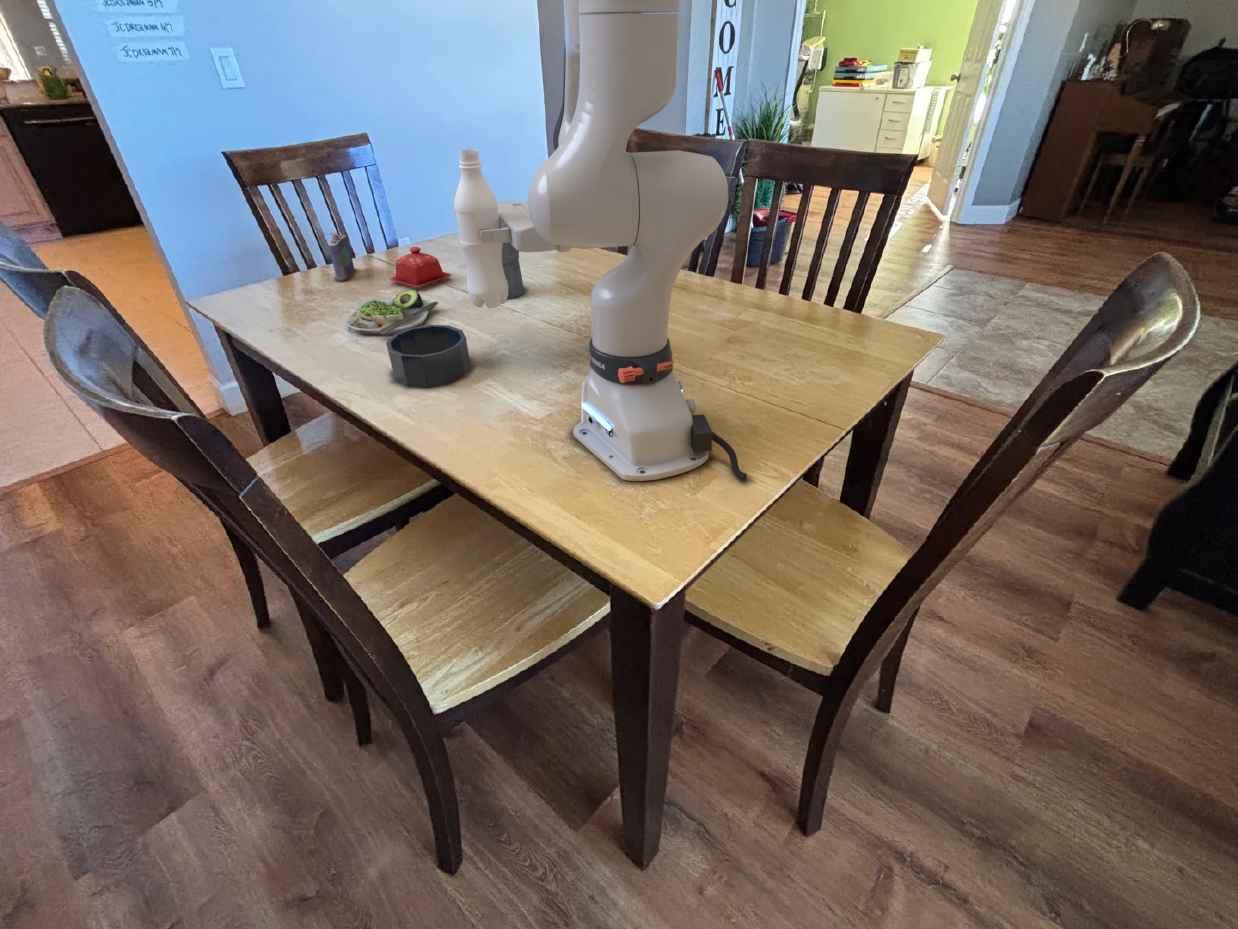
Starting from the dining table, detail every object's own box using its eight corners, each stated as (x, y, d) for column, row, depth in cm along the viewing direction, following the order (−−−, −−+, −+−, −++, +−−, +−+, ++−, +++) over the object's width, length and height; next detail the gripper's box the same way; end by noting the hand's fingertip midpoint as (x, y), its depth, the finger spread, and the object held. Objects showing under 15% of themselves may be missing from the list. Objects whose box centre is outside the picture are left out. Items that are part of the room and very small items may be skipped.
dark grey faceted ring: (476, 378, 112) (471, 348, 109) (398, 393, 108) (391, 362, 105) (462, 349, 123) (457, 320, 119) (390, 361, 118) (383, 332, 115)
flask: (345, 281, 155) (333, 237, 149) (334, 282, 155) (321, 237, 149) (357, 269, 163) (346, 227, 157) (345, 270, 163) (334, 227, 157)
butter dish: (424, 271, 161) (417, 237, 156) (454, 279, 156) (449, 245, 151) (387, 284, 154) (379, 248, 149) (418, 293, 148) (410, 257, 143)
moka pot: (528, 302, 143) (519, 210, 131) (465, 298, 145) (451, 207, 134) (541, 287, 150) (533, 199, 139) (481, 284, 153) (468, 197, 141)
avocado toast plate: (424, 340, 126) (419, 318, 123) (335, 342, 126) (328, 321, 123) (442, 305, 142) (439, 285, 139) (363, 307, 141) (358, 287, 139)
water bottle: (491, 313, 109) (469, 156, 94) (461, 306, 112) (435, 152, 97) (518, 300, 114) (500, 148, 99) (488, 293, 117) (467, 145, 102)
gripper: (534, 189, 115) (459, 197, 111) (570, 214, 100) (485, 224, 95) (537, 224, 119) (465, 233, 115) (573, 254, 103) (490, 265, 99)
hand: (474, 229), depth 105 cm, fingers closed on water bottle, 7 cm apart
